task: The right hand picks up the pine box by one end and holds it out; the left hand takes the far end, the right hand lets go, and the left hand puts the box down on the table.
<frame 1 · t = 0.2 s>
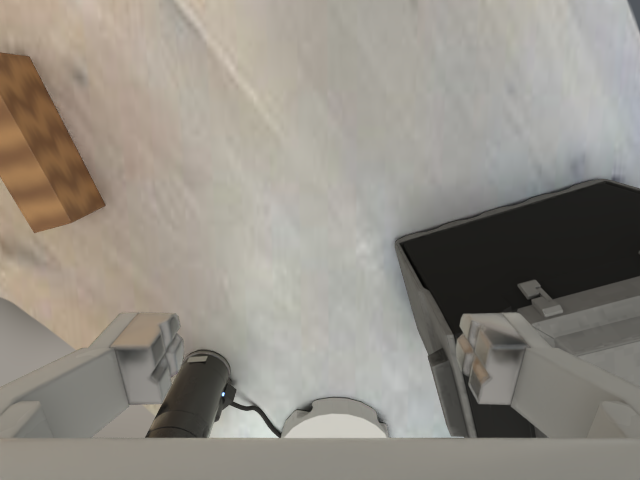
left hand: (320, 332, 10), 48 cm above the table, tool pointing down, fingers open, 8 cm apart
box: (52, 141, 55), on the table
electronic device: (500, 262, 62), on the table
ashtray: (334, 437, 78), on the table
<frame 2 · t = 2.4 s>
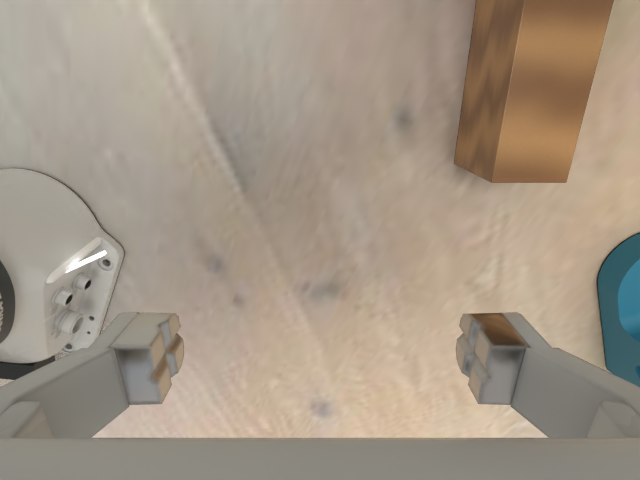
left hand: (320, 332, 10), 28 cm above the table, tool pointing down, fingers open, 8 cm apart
box: (504, 37, 32), on the table, touching right hand
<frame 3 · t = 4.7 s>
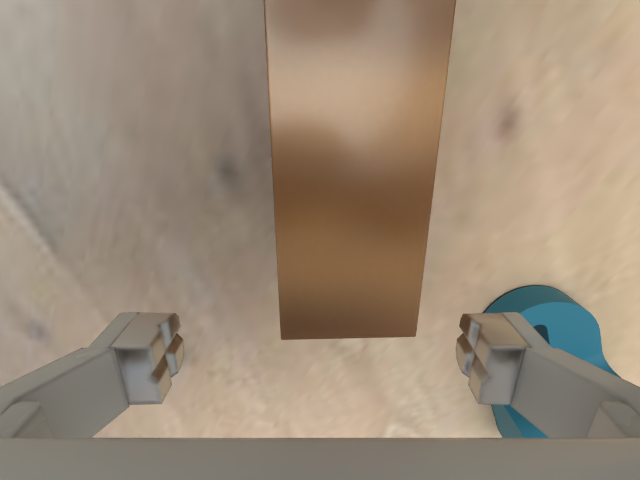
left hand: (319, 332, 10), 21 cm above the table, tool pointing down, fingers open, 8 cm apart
camera mount: (530, 356, 38), on the table
box: (337, 68, 19), point 9 cm above the table, touching right hand
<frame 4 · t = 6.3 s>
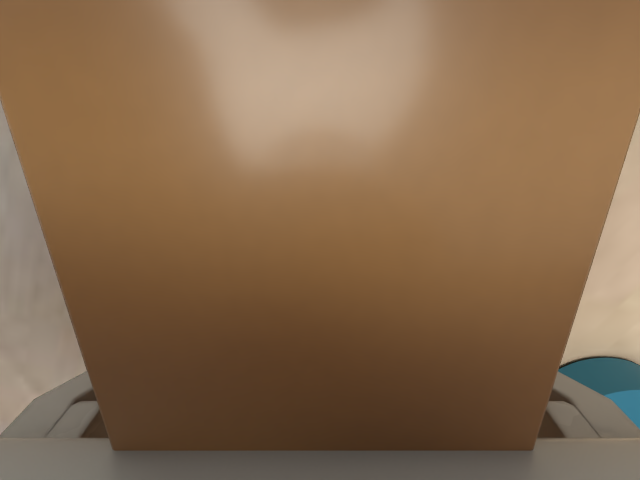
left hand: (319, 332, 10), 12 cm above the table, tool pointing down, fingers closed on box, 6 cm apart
camera mount: (589, 442, 29), on the table
box: (320, 55, 11), point 9 cm above the table, touching left hand, right hand
when the right hand's fingers open (13 cm above the table, at t = 7.4 s): box moves 1 cm, held by the left hand.
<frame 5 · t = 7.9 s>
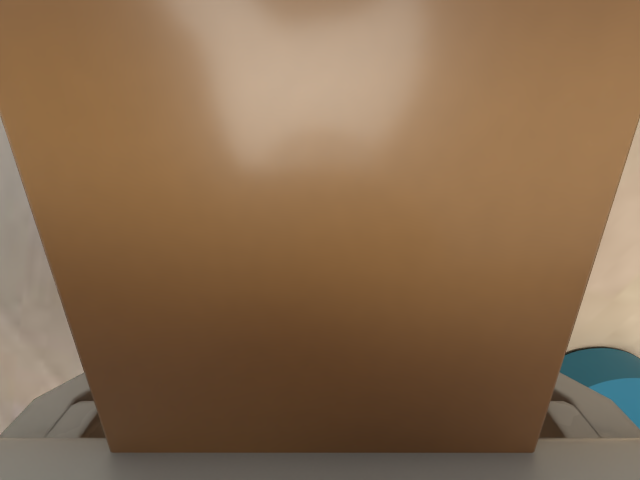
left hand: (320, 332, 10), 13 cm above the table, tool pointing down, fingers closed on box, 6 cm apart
camera mount: (586, 431, 30), on the table
box: (319, 54, 11), point 10 cm above the table, touching left hand
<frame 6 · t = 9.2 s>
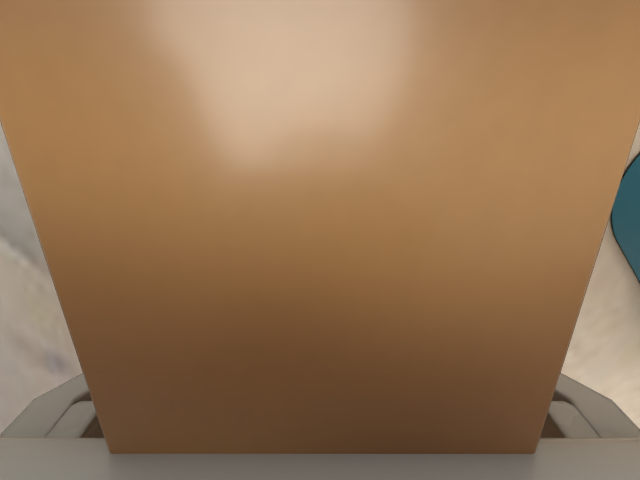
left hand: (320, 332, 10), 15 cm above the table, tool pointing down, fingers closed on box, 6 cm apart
box: (319, 53, 11), point 11 cm above the table, touching left hand
when the left hand's fingers open (5 cm above the table, at t = 12.2 s): box drops 1 cm, on the table.
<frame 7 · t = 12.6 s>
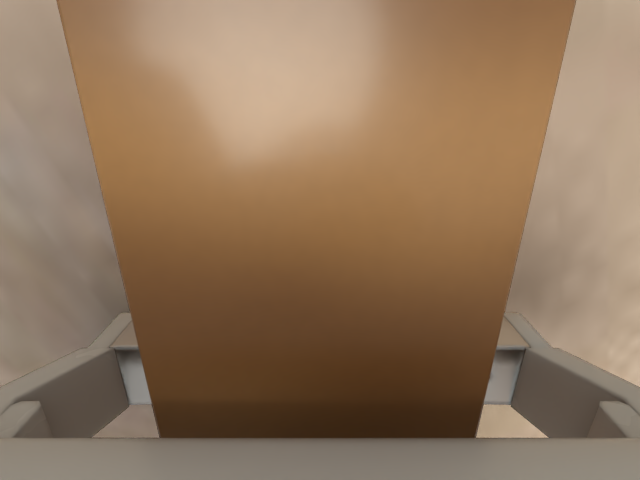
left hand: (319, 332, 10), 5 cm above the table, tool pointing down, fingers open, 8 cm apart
box: (319, 67, 12), on the table
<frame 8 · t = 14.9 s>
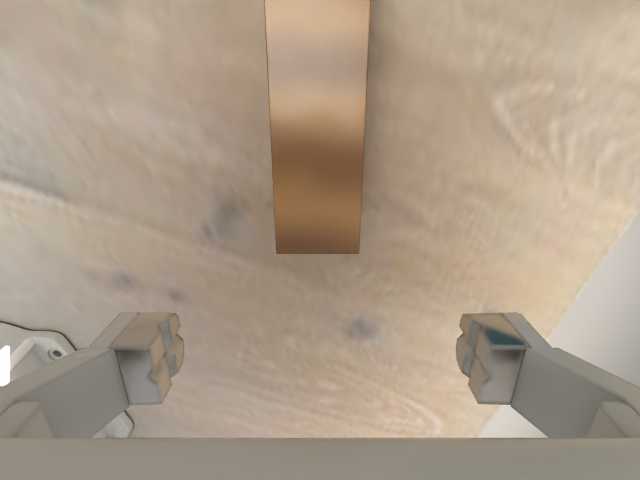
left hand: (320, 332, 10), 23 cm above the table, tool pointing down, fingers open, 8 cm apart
box: (318, 86, 29), on the table
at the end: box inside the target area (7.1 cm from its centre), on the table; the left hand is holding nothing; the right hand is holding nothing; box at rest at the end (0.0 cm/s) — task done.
